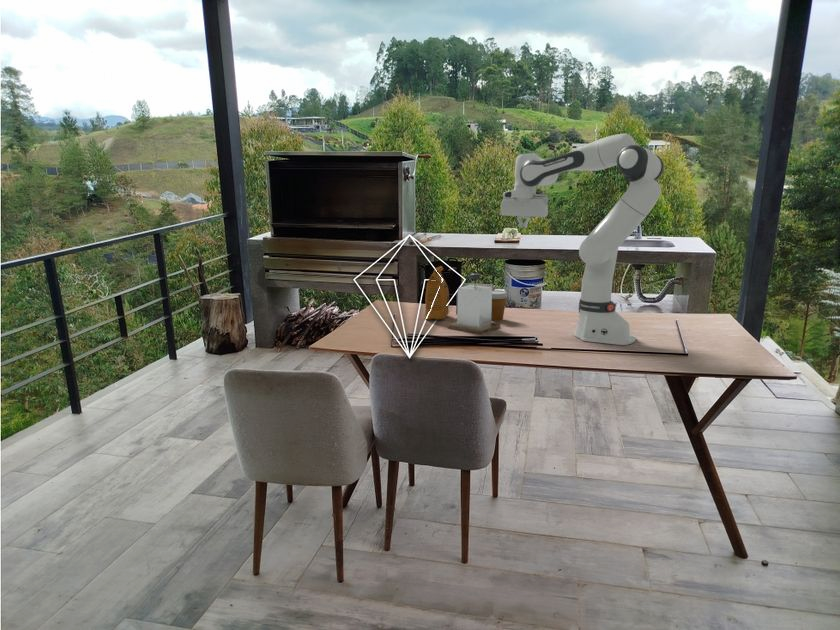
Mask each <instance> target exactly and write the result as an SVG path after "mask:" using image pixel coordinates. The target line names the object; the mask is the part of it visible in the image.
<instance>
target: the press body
mask: <svg viewBox="0 0 840 630" xmlns="http://www.w3.org/2000/svg"><path fill="white" fill-rule="evenodd" d="M492 290H493V286H486V285H485V286H484V285H480V284H479V285H478V284H477V288H474V284H468V285H465V286H461V287H458V288H457V292H456V294H455V296H456V303H455V304H456V306H455V307H456V308H455V309H456V310H455V315H456V316H457V317H456V318H457V319H456V321H455V322H452V323H449V324H448V325H447V327H448V328H447V329H451V330H457V331H462V332H468V333H474V334H480V335H484V334H487V333H489V332H491V331H493V330H497V329H499V328H500V327H501V323H499V322H494V321H491V311H492Z"/></svg>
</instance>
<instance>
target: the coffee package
mask: <svg viewBox="0 0 840 630" xmlns="http://www.w3.org/2000/svg"><path fill="white" fill-rule="evenodd" d="M434 269H436V270H437V272H438V273H439V274H440V275H441V277H442V278H443V279H444V277H443V273H442V271H444V268H443V266H442V265H440V266H438V267H435V268H434ZM437 272H436V271H435V270H433V273H431V275H430V277H429V278H428V280H427V282H426V287H425V297H424V298H425V299H424V300H425V301H424V302H425V312H424V314H425V315H424V318H426V316H427V314H428V312H429V311H430V309H431V305H432V302H433V300H434V297H435V295H436V292H437V290H438V287H439V285H440V289H439V291H438V294H437V297H436V299H435V302H434V305H433V307H432V311H431V312H430V314H429V316H428V319H426V320H427V321H428V320H431V321H433V319H434V320H437V319H438V320H439V321H440V320H444V319H445V318H446V317H447V316H448V315H449V312H450V311H449V308H450V307H449V305H450V304H449V305H448V306H446V304H447V303H448V302H449V303H450V291H449V286H448V284H447V282H446V280H445V279H444V281H443V282H442V283H441V278H440V276H439V275H438V274H437ZM431 280H436V281H431Z"/></svg>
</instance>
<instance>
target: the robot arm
mask: <svg viewBox="0 0 840 630" xmlns="http://www.w3.org/2000/svg"><path fill="white" fill-rule="evenodd" d="M514 166H515V167H514V180H515V181H514V183H513V189H511V190H508V191H505V192H503V193H502V197H503V199H501V204H500V215H501V216H503V217H504V216H507V217H516V220H517V222H518V225H519V226H518V227H519V228H520V229H521V228H524V229H526V228H528V224H529V222H530V220H531V218H547V216H548V215H549V206H548V203H549V197H548V196H547V195H546V194H545V193H536V191H537V189H536V188H537V187H542V186H545V187H546V186H551V185H553V184H555V183H556V182H557V181H558V180H559V179H558V178H559V175H560V174H561V173H565V172H571V171H572V172H573V171H578V172H579V171H581V172H582V171H583V172H596V171H602V170H606V169H609V168H612V167H613V168H614V167H615V166H617V168H618V170H619V172H620V173H621V174H622V176H623V179H625V181H626V182H627V183H628V182H629V186H628V187H627V190H626V191H625V193H624V194H623V195H622V196H621V197H620V198H619V200H618V201H617V202H616V203H615V204H614V206H613V207H612V208H611V209H610V211H609V212H608V213H607V214H606V216H605V217H604V218H603V219H602V220H601V221H599V223H598V224H597V225H596V226H595V227H594V228H593V229H592V230H591V232H590V233H589V234H588V235H587V236H586V237H585V239H584V240H582V242H581V243H580V246H579V248H578V249H579V250H578V256H579V258H580V259H581V261H582V262H583V263H585V267H584V271H583V275H582V277H581V289H580V291H581V292H580V298H579V303H578V320H577V325H576V327H575V331H574V334H573V335H574V336H575V338H578V339H580V340H581V341H582V342H588V343H598V344H608V345H609V344H610V345H617V346H627V345H630V344H633V343H635V342H636V341H637V337H636V335H634V334H631V327H630V324H629V322H628V321H627V320H626V319H625V318H624V317H622V316H621V315H620V314H619V313H618V312H617V311H616V310H617V309H616V307H617V304H618V303H617V302H616V303H615V302H613V300H612V293H613V292H612V290H613V281H614V280H613V279H614V275H615V274H614V273H615V269H616V263H617V258H618V253H619V252H618V251H619V248H620V247H621V245H622V244H623V243H624V242H625V241H626V240H627V239H628V238H629V236H631V235H632V234H633V233H634V231H635V230H636V229H637V228H638V227H639V225H640V224H641V223H642V222H643V221H644V219H645V218H646V217H647V216H649V213H651V211H652V209H653V208H654V207H655V205H656V203H657V202H658V200H659V199H660V196H661V195H662V188H661V185H660V184H659V182H658V180H659V179H660V178H662V177H661V176H662V175H663V174H664V169H665V165H664V162H663V160H662V159H661V157H660V156H659V155H657V154H655V152H653V151H652V150H650V149H649V148H646V147H643V146H641V145H637V144H636V142H635V139H634V138H633V136H632V135H631V134H629V133H619V134H618V133H617V134H613V135H608V136H606V137H602V138H599V139H596V140H594V141H591V142H589V143H587V144H585V145H583V146H580V147H578V148H576V149H574V150H572V151H569V152H566V153H563V154H559V155H557V156H554V157H551V158H547V159H544V158H542V157H540V156H538V155H537V153H535V152H524V153H520V154H518V156H517V157H516V159H515V165H514ZM523 217H524V219H525V222H523V220H522V219H523Z"/></svg>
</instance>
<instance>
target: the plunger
mask: <svg viewBox="0 0 840 630" xmlns="http://www.w3.org/2000/svg"><path fill="white" fill-rule="evenodd" d="M469 279H472V280H473V285H474V288H477V285H478V280H480V279H482V274H481V273H477V272H476V273H469Z"/></svg>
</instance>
